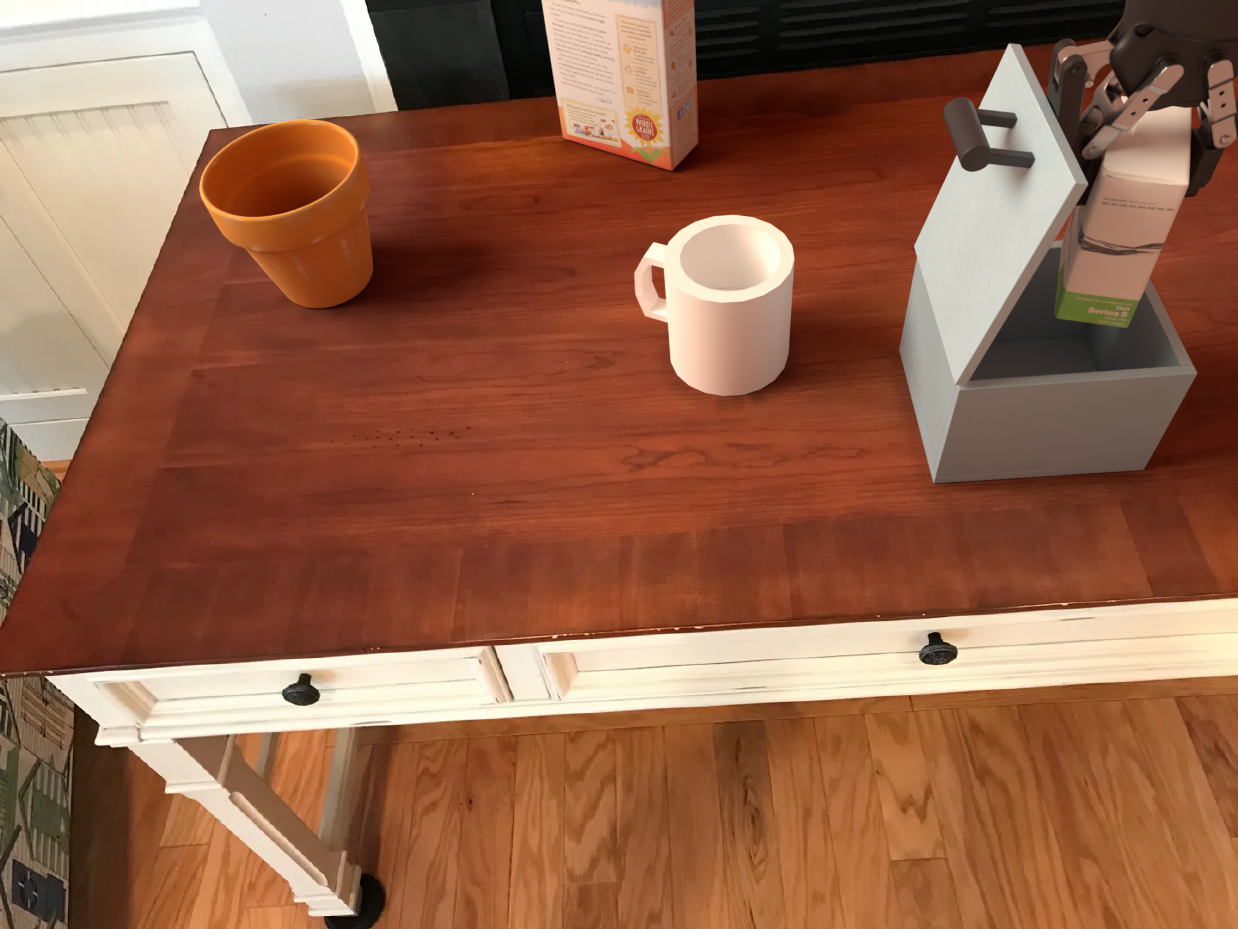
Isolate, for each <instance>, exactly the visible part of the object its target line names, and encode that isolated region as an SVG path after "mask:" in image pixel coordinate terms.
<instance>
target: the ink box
mask: <svg viewBox="0 0 1238 929" xmlns="http://www.w3.org/2000/svg"><path fill="white" fill-rule="evenodd" d="M1121 99H1122V101H1123V103H1125V102H1126V101H1127V99H1128V98H1127V96H1126V95H1121ZM1192 111H1193V107H1191V108H1182V107H1176V106H1171V107H1167V108H1164V109H1161V110H1157V111H1147V112H1146V113H1145V114H1144V115H1143V116H1142V117H1141V118H1140V119H1139V121H1138V122H1137V123H1136V124H1135V125H1134V126H1133V127H1132V128H1131V129H1130V130H1129V131H1127V132H1124V131H1122V132H1121V133H1119V135H1118V136H1117V137H1116V138H1115V139H1114V140H1113V141H1112V142H1111V144H1110V145H1109V146H1108V147H1107V148H1106V149H1105V150H1104V151H1103V152H1102V154H1101V157H1102V162H1101V165H1100V168H1099V170H1098V173H1097V176H1096V179H1095V181H1094V184H1093V187H1092V189H1091V192H1090V195H1089V197H1088V200H1087V203H1086V205H1083V206H1075V207H1074V209H1073V211H1072V212H1071V214H1070V218H1069V222H1068V223H1067V224H1068V225H1067V226H1066V230H1065V233H1064V235H1063V238H1062V240H1063V241H1062V248H1061V256H1060V266H1059V274H1058V283H1057V292H1056V301H1055V311H1054V316H1055V317H1057V318H1059V319H1065V320H1072V321H1079V322H1087V323H1093V324H1100V325H1108V326H1115V327H1122V328H1127V327H1128V326H1129V324H1130V322H1131V319H1132V317H1133V315H1134V312H1135V310H1136V308H1137V306H1138V303H1139V301H1140V299H1141V297H1142V294H1143V292H1144V290H1145V288H1146V285H1147V283H1148V280H1149V278H1150V279H1151V275H1152V272H1153V271H1154V268H1155V266H1156V264H1157V261H1158V259H1159V257H1160V254H1161V252H1162V249H1163V247H1164V245H1165V242H1166V240H1167V238H1168V235H1169V233H1170V230H1171V228H1172V226H1173V224H1174V221H1175V219H1176V216H1177V215H1178V212H1179V210H1180V207H1181V205H1182V202H1183V200H1184V196H1185V193H1186V191H1187V188H1188V186H1189V176H1190V144H1191V129H1192V115H1193V114H1192Z"/></svg>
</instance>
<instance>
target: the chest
mask: <svg viewBox="0 0 1238 929" xmlns="http://www.w3.org/2000/svg"><path fill="white" fill-rule="evenodd" d="M1062 241H1063V239H1062V240H1054V242H1053V243H1052V245H1051V247H1050V248H1049V250H1048V252H1047V253H1046V255H1045V256H1044V258H1043V260H1042V261H1041V263H1040V265H1039V266H1038V268H1037V270H1036V271H1035V273H1034V274H1033V276H1032V278H1031V279H1030V281H1029V283H1028V284H1027V286H1026V288H1025V289H1024V291H1023V293H1022V294H1021V296H1020V297H1019V299H1018V301H1017V302H1016V304H1015V306H1014V307H1013V309H1012V311H1011V312H1010V314H1009V315H1008V317H1007V319H1006V320H1005V322H1004V324H1003V325H1002V327H1001V329H1000V330H999V332H998V334H997V335H996V337H995V338H994V340H993V342H992V343H991V345H990V347H989V348H988V350H987V352H986V353H985V355H984V356H983V358H982V360H981V361H980V363H979V365H978V366H977V368H976V370H975V371H974V373H973V375H972V376H971V378H970V379H969V381H968V383H967V384H966V385H965V386H964V385H955V383H954V380H953V376H952V373H951V370H950V366H949V363H948V360H947V356H946V353H945V349H944V346H943V343H942V339H941V336H940V332H939V329H938V326H937V322H936V319H935V316H934V312H933V309H932V305H931V302H930V299H929V295H928V292H927V289H926V285H925V282H924V278H923V275H922V272H921V268H920V265H919V262H918V258H917V257H916V261H915V265H914V271H913V276H912V282H911V287H910V292H909V297H908V301H907V307H906V312H905V317H904V323H903V328H902V332H901V339H900V343H899V348H898V352H899V354H900V355H899V356H900V359H901V363H902V367H903V371H904V375H905V379H906V382H907V387H908V390H909V394H910V398H911V402H912V407H913V409H914V414H915V417H916V421H917V425H918V429H919V432H920V436H921V441H922V445H923V448H924V453H925V456H926V461H927V465H928V469H929V472H930V476H931V480H932V483H933V484H947V483H960V482H961V483H962V482H978V481H991V480H992V481H994V480H1009V479H1022V478H1023V479H1024V478H1039V477H1053V476H1054V477H1055V476H1056V477H1057V476H1070V475H1071V476H1072V475H1086V474H1101V473H1117V472H1135V471H1144V470H1145V469H1146V467H1147V465H1148V463H1149V461H1150V460H1151V458H1152V456H1153V454H1154V452H1155V451H1156V449H1157V447H1158V445H1159V444H1160V441H1161V440H1162V439H1163V436H1164V435H1165V432H1166V430H1167V429H1168V427H1169V425H1170V424H1171V422H1172V420H1173V419H1174V417H1175V415H1176V413H1177V411H1178V409H1179V408H1180V406H1181V404H1182V402H1183V400H1184V399H1185V397H1186V395H1187V393H1188V391H1189V389H1190V387H1191V386H1192V384H1193V382H1194V380H1195V379H1196V377H1197V375H1198V372H1197V370H1196V367H1195V366H1194V364H1193V362H1192V359H1191V358H1190V356H1189V354H1188V352H1187V350H1186V348H1185V346H1184V343H1183V341H1182V340H1181V338H1180V335H1179V334H1178V332H1177V330H1176V328H1175V325H1174V324H1173V322H1172V320H1171V318H1170V316H1169V314H1168V312H1167V310H1166V308H1165V306H1164V304H1163V301H1162V300H1161V298H1160V296H1159V294H1158V292H1157V290H1156V287H1155V286H1154V284H1153V282H1152V280H1151V277H1150V278H1149V280H1148V283H1147V285H1146V288H1145V290H1144V292H1143V294H1142V297H1141V299H1140V301H1139V303H1138V306H1137V308H1136V310H1135V312H1134V315H1133V317H1132V319H1131V322H1130V324H1129V326H1128V327H1127V328H1122V327H1115V326H1108V325H1100V324H1093V323H1087V322H1079V321H1072V320H1065V319H1059V318H1057V317H1055V316H1054V311H1055V301H1056V292H1057V283H1058V274H1059V266H1060V256H1061V248H1062Z"/></svg>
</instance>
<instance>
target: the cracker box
mask: <svg viewBox="0 0 1238 929" xmlns="http://www.w3.org/2000/svg"><path fill="white" fill-rule="evenodd" d="M541 6H542V12H543V17H544V18H543V19H544V25H545V33H546V37H547V38H546V39H547V44H548V50H549V57H550V63H551V70H552V77H553V83H554V88H555V96H556V101H557V107H558V114H559V121H560V127H561V133H562V138H563V139H564V140H567V141H571V142H573V143H577V144H580V145H584V146H587V147H591V148H594V149H597V150H600V151H604V152H607V153H610V154H613V155H616V156H620V157H623V158H627V159H630V160H633V161H637V162H639V163H642V164H643V163H644V164H647V165H650V166H653V167H656V168H659V169H663V170H665V171H669V172H673V171H674V170H676V168H677V166H679V165H680V164H681V163H682V161H683V160H684V159H685V158H686V157H687V156H688V155H689V154H690V153H691V152H692V151H693V150H694V149H695V147H697V146H698V144H699V142H700V141H699V140H700V139H699V114H698V112H699V109H698V108H699V106H698V81H697V76H698V74H697V53H696V52H697V51H696V50H697V49H696V24H695V23H696V22H695V18H696V17H695V0H541Z"/></svg>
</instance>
